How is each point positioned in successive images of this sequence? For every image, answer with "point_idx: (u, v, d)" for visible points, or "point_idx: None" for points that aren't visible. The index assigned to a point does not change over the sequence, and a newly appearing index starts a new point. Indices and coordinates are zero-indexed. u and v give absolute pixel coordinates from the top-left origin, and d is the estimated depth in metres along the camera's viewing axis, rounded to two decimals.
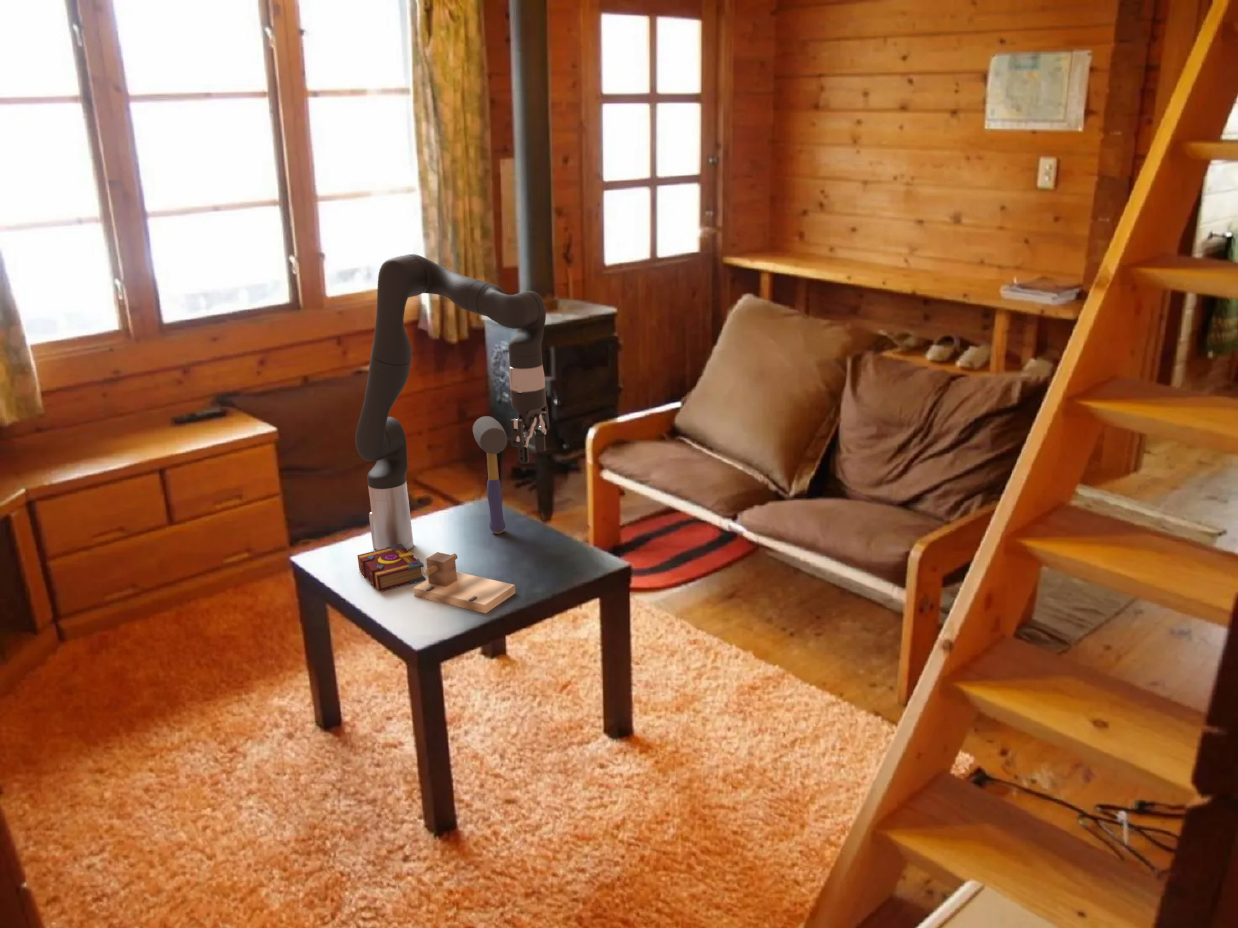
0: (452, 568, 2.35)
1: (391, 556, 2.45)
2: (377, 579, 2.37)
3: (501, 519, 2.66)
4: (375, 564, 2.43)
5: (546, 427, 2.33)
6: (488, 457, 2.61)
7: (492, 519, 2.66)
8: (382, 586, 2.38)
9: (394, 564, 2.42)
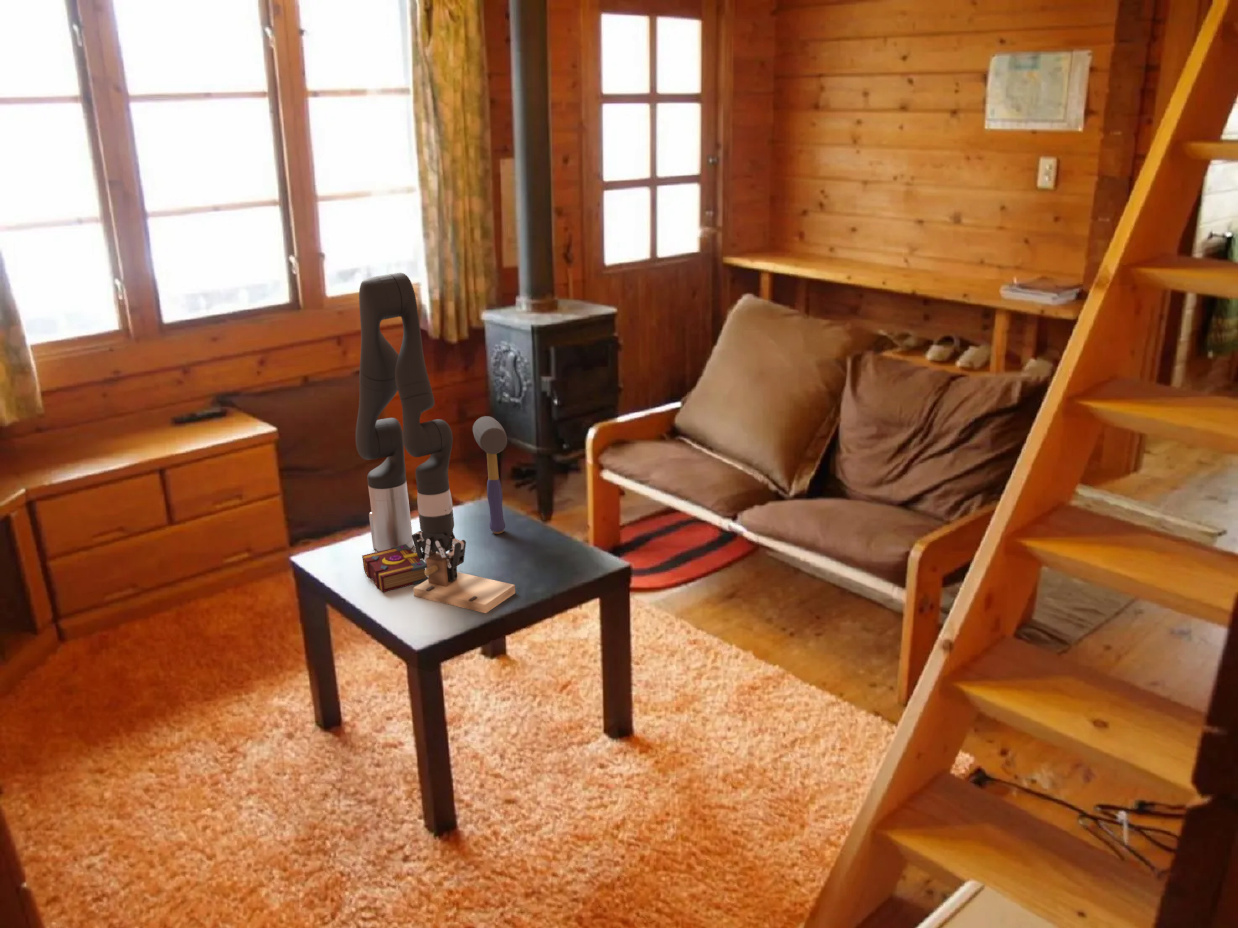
0: None
1: (395, 557, 2.45)
2: (381, 580, 2.37)
3: (501, 519, 2.66)
4: (379, 564, 2.42)
5: None
6: (488, 457, 2.61)
7: (492, 519, 2.66)
8: (386, 587, 2.37)
9: (398, 565, 2.42)
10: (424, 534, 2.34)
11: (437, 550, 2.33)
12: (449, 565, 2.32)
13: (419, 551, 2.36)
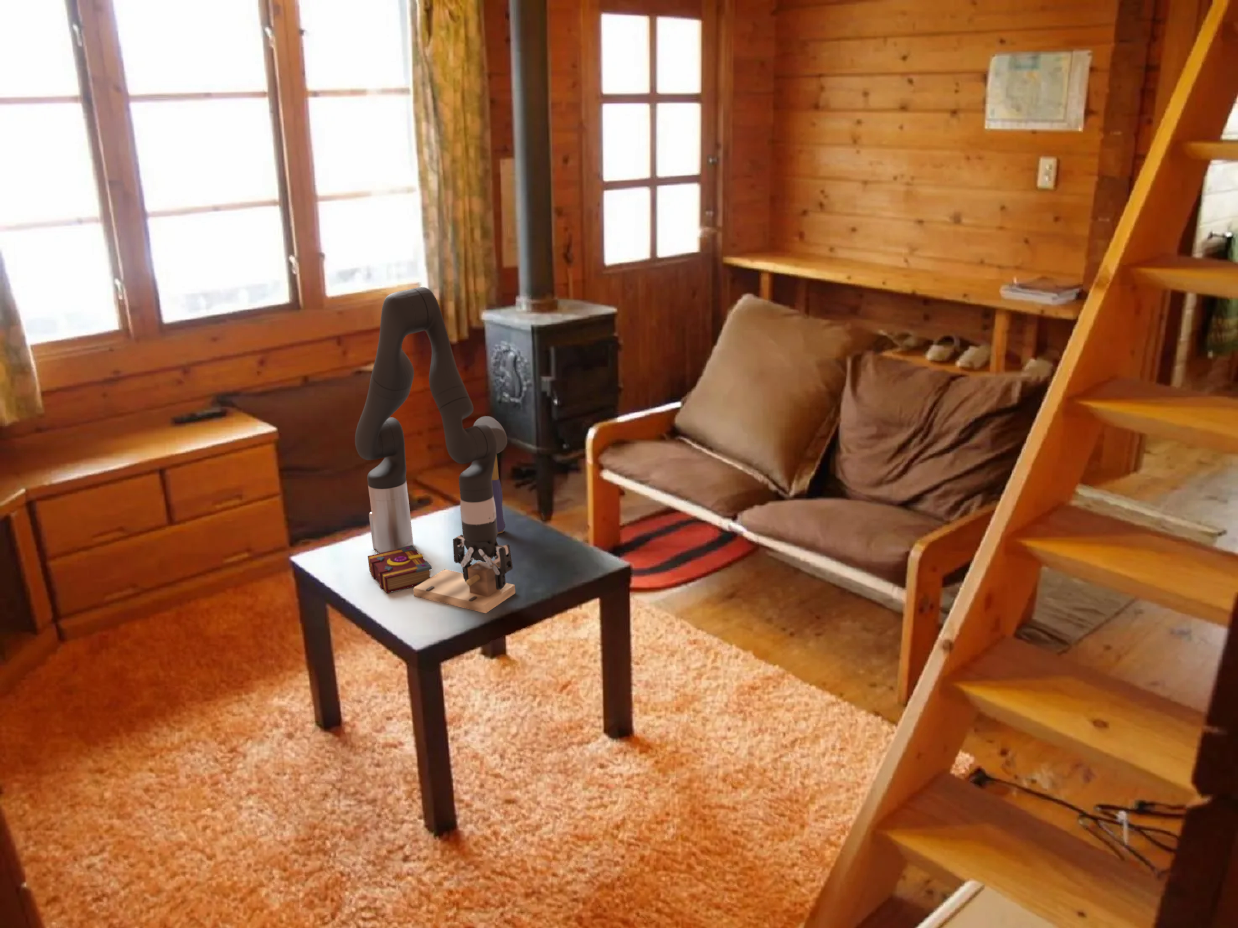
0: (494, 578, 2.29)
1: (400, 558, 2.44)
2: (384, 581, 2.36)
3: (501, 519, 2.66)
4: (384, 565, 2.42)
5: (464, 557, 2.33)
6: None
7: None
8: (389, 588, 2.37)
9: (403, 566, 2.41)
10: (467, 542, 2.28)
11: (483, 560, 2.27)
12: (498, 572, 2.26)
13: (457, 555, 2.30)
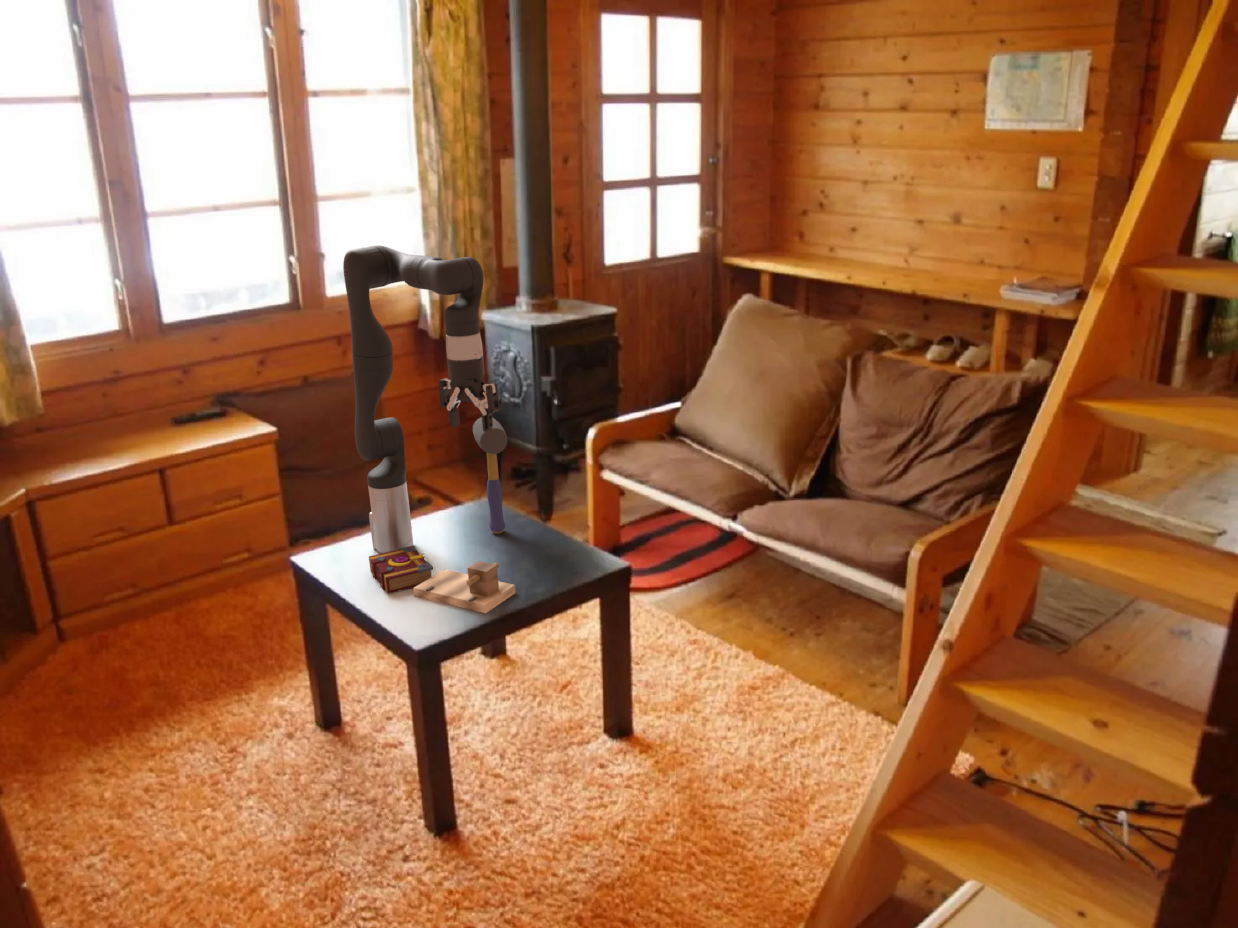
0: (494, 578, 2.29)
1: (402, 558, 2.44)
2: (386, 581, 2.36)
3: (501, 519, 2.66)
4: (385, 565, 2.41)
5: (450, 401, 2.26)
6: (488, 457, 2.61)
7: (492, 519, 2.66)
8: (391, 588, 2.37)
9: (404, 566, 2.41)
10: (453, 383, 2.21)
11: (469, 401, 2.21)
12: (484, 412, 2.19)
13: (443, 399, 2.24)
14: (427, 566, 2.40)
